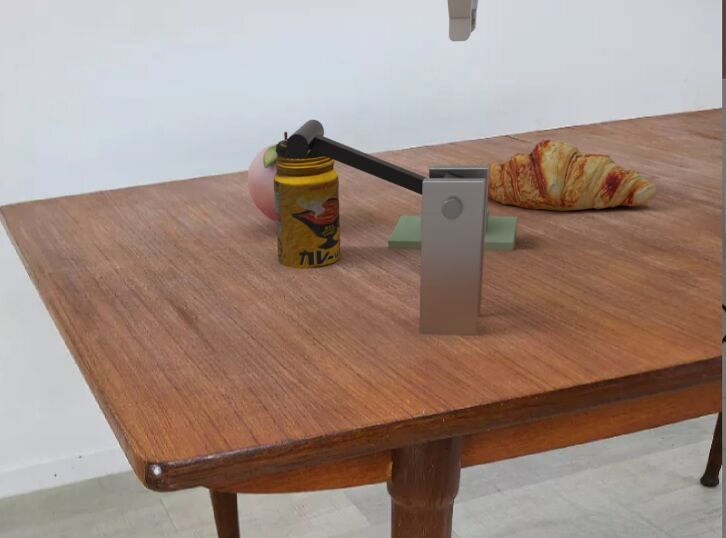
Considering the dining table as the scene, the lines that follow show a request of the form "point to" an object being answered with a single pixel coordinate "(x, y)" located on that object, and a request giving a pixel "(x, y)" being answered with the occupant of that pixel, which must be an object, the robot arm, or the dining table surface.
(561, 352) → the dining table surface
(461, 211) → the bracket
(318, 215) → the condiment
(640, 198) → the croissant
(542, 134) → the dining table surface
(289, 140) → the lever
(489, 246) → the block
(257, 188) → the decorative fruit
